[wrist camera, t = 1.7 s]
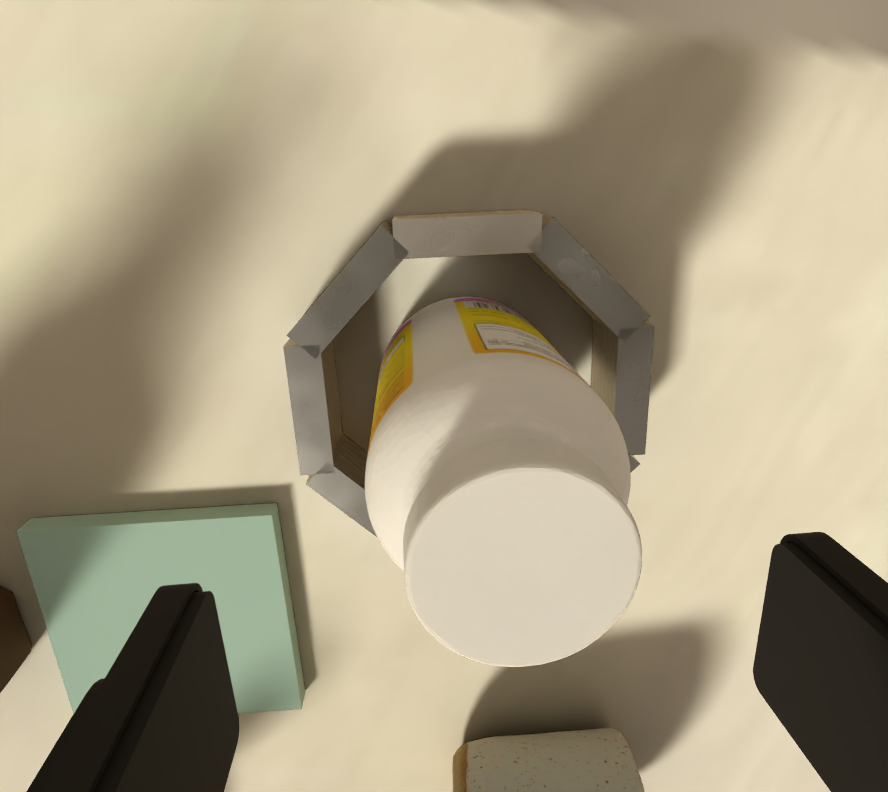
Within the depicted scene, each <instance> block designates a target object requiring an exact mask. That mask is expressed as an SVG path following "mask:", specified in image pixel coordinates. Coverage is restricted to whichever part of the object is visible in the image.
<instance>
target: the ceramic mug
mask: <svg viewBox="0 0 888 792" xmlns="http://www.w3.org/2000/svg"><path fill="white" fill-rule="evenodd" d="M453 792H644V788H643V784H642V781H641V778H640V775H639V772H638V769H637V765H636V762H635V760H634V757H633V754H632V752H631V750H630V747H629V745H628V743H627V741H626V740H625V738H624V736H623V734H622V733H621V732H620V731H619V730H617V729H615V728H599V729H589V730H576V731H561V732H549V733H539V734H527V735H512V736H494V737H488V738H483V739H479V740H475V741H471V742H468V743H466V744H463V745H462V746H461V747H460V748H459V749H458V750H457V751H456V753H455V754H454V756H453Z"/></svg>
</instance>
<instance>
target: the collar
mask: <svg viewBox="0 0 888 792" xmlns="http://www.w3.org/2000/svg"><path fill="white" fill-rule="evenodd" d="M392 226H393V228H392V227H391V226H390V225H389V224H388V223H387V222H385V221H384V222H383V223H382V224H381V225H380V227H379V228H378V229H377V230H376V231H375V232H374V234H373V235H372V236H371V237H370V238H369V239H368V241H367V242H366V243H365V244H364V245H363V246H362V248H361V249H360V250H359V251H358V252H357V253H356V255H355V256H354V257H353V258H352V259H351V260H350V262H349V263H348V264H347V265H346V266H345V268H344V269H343V270H342V271H341V272H340V273H339V275H338V276H337V277H336V278H335V279H334V280H333V282H332V283H331V284H330V285H329V286H328V287H327V289H326V290H325V291H324V292H323V293H322V294H321V296H320V297H319V298H318V299H317V300H316V301H315V303H314V304H313V305H312V306H311V307H310V309H309V310H308V311H307V312H306V313H305V314H304V316H303V317H302V318H301V319H300V320H299V321H298V323H297V324H296V325H295V326H294V327H293V329H292V330H291V331H290V332H289V333H288V335H287V336H288V337H289V338H290V339H289V340H288V342H287V343H286V344H285V345H284V355H285V362H286V370H287V378H288V385H289V393H290V400H291V408H292V415H293V423H294V430H295V438H296V445H297V453H298V460H299V468H300V475H309V478H308V480H307V483H306V485H308V486H309V487H310V488H312V489H313V490H314V491H316V492H317V493H318V494H320V495H321V496H322V497H324V498H325V499H326V500H328V501H329V502H331V503H332V504H333V505H335V506H336V507H337V508H339V509H340V510H341V511H343V512H344V513H345V514H347V515H348V516H349V517H351V518H352V519H353V520H355V521H356V522H357V523H359V524H360V525H361V526H363V527H364V528H365V529H367V530H368V531H370V532H371V533H372V534H374V535H375V536H376V537H377V535H376V534H375V531H374V529H373V527H372V524H371V521H370V518H369V514H368V510H367V504H366V498H365V471H366V462H367V455H368V453H367V452H366V451H364V450H363V449H362V448H361V447H359V446H358V445H357V444H355V443H354V442H353V441H352V440H350V439H349V438H348V437H347V436H345V435H344V434H343V431H342V422H341V412H340V403H339V393H338V384H337V374H336V365H335V355H334V346H333V339H334V337H335V336H336V335H337V334H338V333H339V332H340V331H341V330H342V328H343V327H344V326H345V325H346V324H347V323H348V322H349V320H350V319H351V318H352V317H353V316H354V315H355V314H356V312H357V311H358V310H359V309H360V308H361V307H362V306H363V304H364V303H365V302H366V301H367V300H368V299H369V298H370V296H371V295H372V294H373V293H374V292H375V291H376V290H377V288H378V287H379V286H380V285H381V284H382V283H383V282H384V281H385V279H386V278H387V277H388V276H389V275H390V274H391V273H392V271H393V270H394V269H395V268H396V267H397V266H398V265H399V263H400V262H401V261H402V260H403V259H410V258H431V257H451V256H472V255H492V254H513V253H527V254H528V255H529V256H530V257H531V258H532V259H533V260H534V261H535V262H536V263H537V264H538V265H539V266H540V267H541V268H542V269H543V270H544V271H545V272H546V273H547V274H548V275H549V276H550V277H551V278H552V279H553V280H554V281H555V282H556V283H558V284H559V285H560V286H561V287H562V288H563V289H564V290H565V291H566V292H567V293H568V294H569V295H570V296H571V297H572V298H573V299H574V300H575V301H576V302H577V303H578V304H579V305H580V306H581V307H582V308H583V309H584V310H585V311H586V312H587V313H588V314H589V315H590V316H591V317H592V318H593V341H592V366H591V388H592V389H593V390H594V391H595V392H596V393H597V395H598V396H599V397H600V398H601V399H602V401H603V402H604V403H605V404H606V406H607V407H608V408H609V410H610V411H611V413H612V415H613V416H614V418H615V420H616V421H617V423H618V425H619V428H620V430H621V432H622V435H623V438H624V441H625V444H626V447H627V451H628V456H629V462H630V473H631V472H632V471H633V470H634V469H635V468H636V467H637V466H638V465H640V463H639V462H638V461H637V460H636V458H635V457H634V456H633V455H643V454H645V447H646V433H647V420H648V406H649V393H650V379H651V365H652V352H653V338H654V327H653V326H652V325H650V324H648V323H646V322H645V321H646V320H647V319H648V318H649V317H650V315H649V314H648V313H647V312H646V311H645V310H644V309H643V308H642V307H641V306H640V305H639V304H638V303H637V302H636V301H635V300H634V299H633V298H632V297H631V296H630V295H629V294H628V293H627V292H626V291H625V290H624V289H623V288H622V287H621V286H620V285H619V284H618V283H617V282H616V281H615V280H614V278H613V277H612V276H611V275H610V274H609V273H608V272H607V271H606V270H605V269H604V268H603V267H602V266H601V265H600V264H599V263H598V262H597V261H596V260H595V259H594V258H593V257H592V256H591V255H590V254H589V253H588V252H587V251H586V250H585V249H584V248H583V247H582V246H581V245H580V244H579V243H578V242H577V241H576V240H575V239H574V238H573V237H572V236H571V235H570V234H569V233H568V232H567V231H566V229H565V228H564V227H563V226H562V225H561V224H560V223H559V222H558V221H557V220H556V219H555V218H554V217H549V216H544V215H542V213H540V212H534V211H529V210H507V211H485V212H464V213H442V214H420V215H399V216H394V218H393V219H392Z"/></svg>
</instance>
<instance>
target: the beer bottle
mask: <svg viewBox="0 0 888 792" xmlns="http://www.w3.org/2000/svg"><path fill="white" fill-rule="evenodd" d="M30 652H31V642H30V639H29V637H28V634H27V631H26V629H25V626H24V623H23V621H22V618H21V615H20V613H19V610H18V607H17V605H16V602H15V599H14V596H13V594H12V592H10V591H8V590H7V589H5V588H3V587H1V586H0V693H1V691H2V690H3V689H4V687H5V686H6V685H7V684H8V682H9V681H10V680H11V678H12V677H13V675H14V674H15V673H16V671H17V670H18V668H19V667H20V666H21V664H22V663H23V662H24V660H25V659H26V657H27V656H28V655H29V653H30Z"/></svg>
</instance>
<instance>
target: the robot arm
mask: <svg viewBox="0 0 888 792" xmlns="http://www.w3.org/2000/svg"><path fill="white" fill-rule="evenodd" d="M753 675H754V680H755V684H756V686H757V688H758V690H759V692H760V694H761V695H762V696H763V698H764V699H765V701H766V702H767V703H768V705H769V706H770V708H771V709H772V710H773V712H774V713H775V714H776V716H777V717H778V719H779V720H780V721H781V723H782V724H783V726H784V727H785V728H786V730H787V731H788V733H789V734H790V735H791V737H792V738H793V739H794V741H795V742H796V744H797V745H798V746H799V748H800V749H801V751H802V752H803V753H804V755H805V756H806V758H807V759H808V760H809V762H810V763H811V764H812V766H813V767H814V769H815V770H816V771H817V773H818V774H819V776H820V777H821V778H822V780H823V781H824V783H825V784H826V785H827V787H828V788H829V789H830V791H831V792H888V583H887V582H886V581H884V580H883V579H882V578H881V577H879V576H878V575H877V574H876V573H874V572H873V571H872V570H871V569H870V568H868V567H867V566H866V565H865V564H863V563H862V562H861V561H860V560H858V559H857V558H856V557H855V556H853V555H852V554H851V553H850V552H848V551H847V550H846V549H845V548H843V547H842V546H841V545H840V544H839V543H837V542H836V541H835V540H834V539H832V538H831V537H830V536H828V535H827V534H825V533H822V532H812V533H800V534H788V535H786V536H784V537H783V538H782V540H781V542H780V544H777V545H775V547H774V548H773V551H772V555H771V561H770V567H769V574H768V580H767V586H766V592H765V598H764V604H763V611H762V617H761V623H760V629H759V635H758V642H757V648H756V654H755V660H754V666H753ZM238 736H239V717H238V712H237V707H236V702H235V697H234V692H233V687H232V682H231V677H230V672H229V667H228V662H227V658H226V653H225V648H224V643H223V638H222V633H221V628H220V623H219V618H218V613H217V608H216V603H215V598H214V595H213V593H212V592H211V591H204V592H203V590H202V587H201V586H200V584H198V583H188V584H176V585H163V586H161V587H159V588H158V589H157V590H156V592H155V594H154V595H153V597H152V599H151V600H150V602H149V604H148V606H147V607H146V609H145V611H144V612H143V614H142V616H141V617H140V619H139V621H138V623H137V624H136V626H135V628H134V629H133V631H132V633H131V634H130V636H129V638H128V640H127V641H126V643H125V645H124V646H123V648H122V650H121V652H120V653H119V655H118V657H117V658H116V660H115V662H114V663H113V665H112V667H111V669H110V670H109V672H108V674H107V675H106V677H105V678H103V679H100V680H98V681H97V682H95V683H94V684H93V685H92V686H91V688H90V689H89V690H88V691H87V693H86V695H85V696H84V698H83V700H82V701H81V703H80V705H79V706H78V708H77V709H76V711H75V713H74V714H73V716H72V718H71V719H70V721H69V723H68V724H67V726H66V728H65V729H64V731H63V733H62V734H61V736H60V737H59V739H58V741H57V742H56V744H55V746H54V747H53V749H52V751H51V752H50V754H49V756H48V757H47V759H46V761H45V762H44V764H43V766H42V767H41V769H40V770H39V772H38V774H37V775H36V777H35V779H34V780H33V782H32V784H31V785H30V787H29V789H28V790H27V792H224V789H225V785H226V782H227V778H228V775H229V771H230V768H231V764H232V760H233V757H234V753H235V750H236V746H237V742H238Z"/></svg>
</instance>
